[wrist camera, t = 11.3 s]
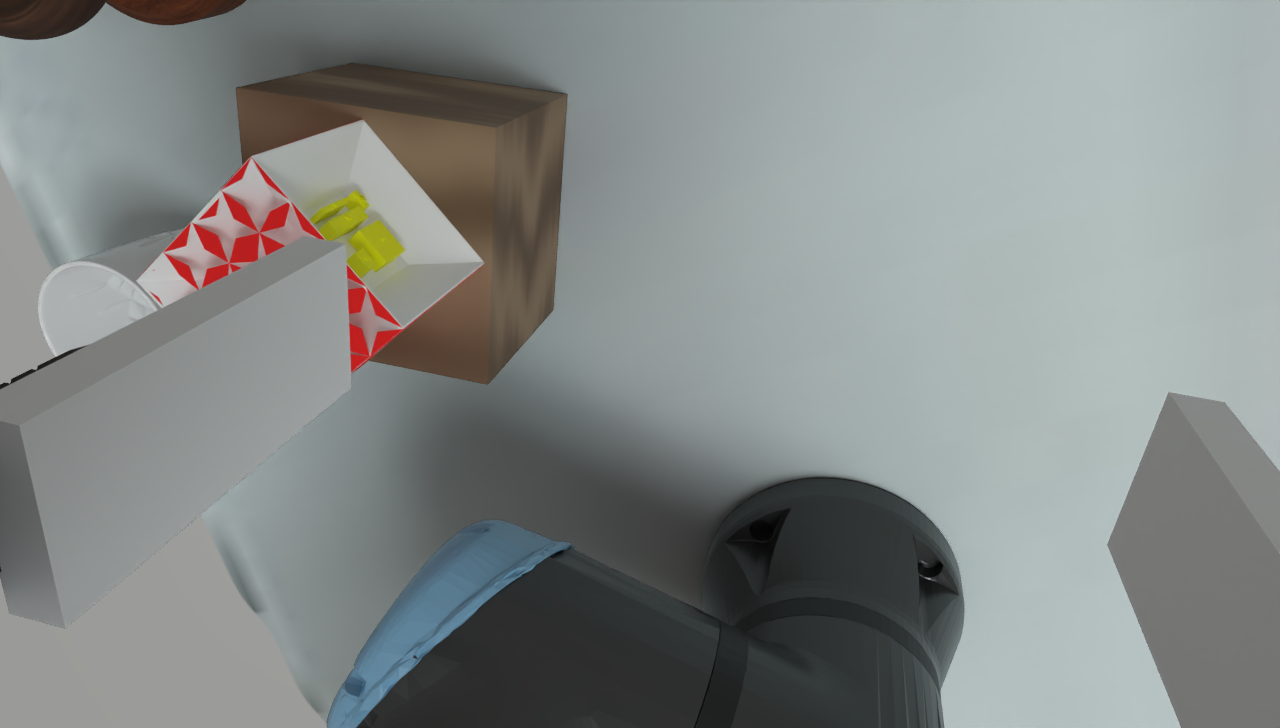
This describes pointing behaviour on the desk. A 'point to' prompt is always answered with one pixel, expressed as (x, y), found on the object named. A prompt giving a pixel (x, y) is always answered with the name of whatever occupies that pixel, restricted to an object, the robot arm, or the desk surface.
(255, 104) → the walnut pedestal
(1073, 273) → the desk surface
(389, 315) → the red white patterned cube
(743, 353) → the desk surface
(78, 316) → the white cup
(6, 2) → the brown tall carved piece
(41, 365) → the robot arm
